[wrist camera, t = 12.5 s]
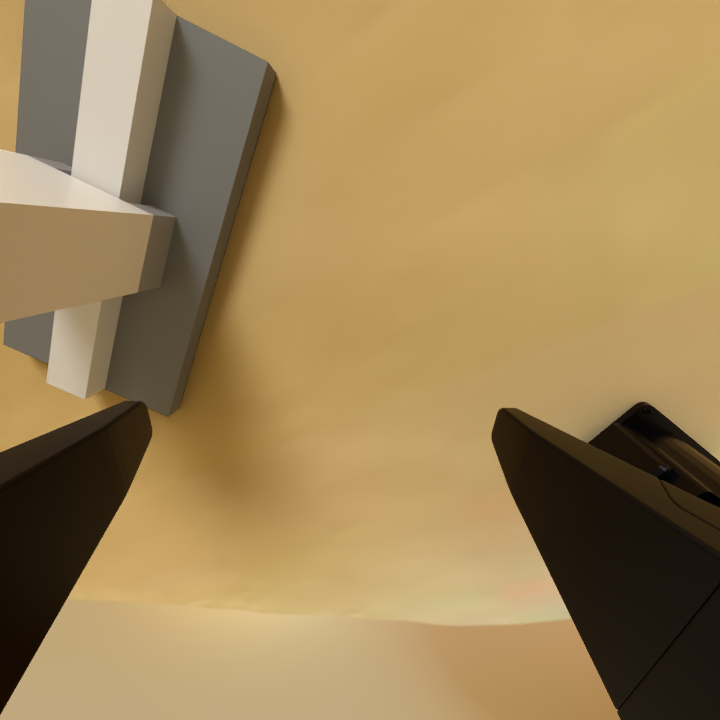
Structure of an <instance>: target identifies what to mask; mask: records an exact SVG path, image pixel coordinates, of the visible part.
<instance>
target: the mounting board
mask: <svg viewBox="0 0 720 720" xmlns="http://www.w3.org/2000/svg"><path fill="white" fill-rule="evenodd" d="M275 78H276V72H275V71H274V70H273V68H272V67H271V66H270V64H269V63H268V62H267V61H265V60H263V59H261V58H259V57H257V56H255V55H253V54H251V53H249V52H247V51H245V50H243V49H242V48H240V47H238V46H236V45H234V44H232V43H230V42H228V41H226V40H224V39H222V38H220V37H218V36H216V35H214V34H212V33H210V32H208V31H206V30H204V29H202V28H200V27H199V26H197V25H195V24H193V23H191V22H189V21H187V20H185V19H183V18H181V17H179V16H177V15H176V14H175V13H174V12H173V11H172V10H171V9H170V8H169V7H168V6H167V5H166V4H165V3H164V2H163V1H162V0H25V10H24V26H23V42H22V58H21V74H20V90H19V106H18V121H17V137H16V153H19V154H24V155H29V156H33V157H38V158H42V159H47V160H52V161H56V162H61V163H64V164H66V165H68V166H70V167H72V171H71V176H72V177H74V178H76V179H78V180H80V181H83V182H85V183H87V184H89V185H91V186H93V187H95V188H97V189H99V190H102V191H104V192H106V193H108V194H110V195H112V196H114V197H116V198H118V199H121V200H123V201H125V202H127V203H133V204H142V205H150V206H154V207H156V208H158V209H161V210H163V211H165V212H167V213H169V214H171V215H173V216H175V217H176V221H175V225H174V230H173V234H172V238H171V243H170V247H169V251H168V256H167V260H166V264H165V269H164V273H163V277H162V282H161V286H160V288H156V289H152V290H147V291H142V292H138V293H133V294H129V295H124V296H120V297H115V298H111V299H106V300H102V301H97V302H93V303H88V304H84V305H79V306H75V307H70V308H65V309H61V310H56V311H52V312H47V313H43V314H38V315H34V316H29V317H25V318H20V319H16V320H11V321H7V322H5V328H4V345H6V346H8V347H11V348H13V349H15V350H17V351H20V352H22V353H24V354H27V355H29V356H31V357H33V358H36V359H38V360H40V361H42V362H45V363H47V364H49V365H48V373H47V381H46V383H48V384H51V385H53V386H55V387H57V388H60V389H62V390H64V391H66V392H69V393H71V394H73V395H76V396H78V397H80V398H82V399H87V398H89V397H91V396H93V395H94V394H96V393H98V392H100V391H102V390H104V389H106V390H108V391H110V392H113V393H115V394H117V395H119V396H122V397H124V398H126V399H129V400H131V401H143V402H144V403H145V404H146V405H147V408H149V409H151V410H153V411H156V412H158V413H160V414H163V415H165V416H167V417H169V416H170V415H171V414H172V413H174V412H175V411H176V410H177V409H179V407H180V403H181V400H182V396H183V393H184V390H185V386H186V383H187V379H188V376H189V372H190V369H191V366H192V362H193V359H194V355H195V352H196V348H197V345H198V342H199V338H200V335H201V331H202V328H203V324H204V321H205V318H206V314H207V311H208V307H209V304H210V301H211V297H212V294H213V290H214V287H215V283H216V280H217V277H218V273H219V270H220V266H221V263H222V259H223V256H224V253H225V249H226V246H227V242H228V239H229V235H230V232H231V229H232V225H233V222H234V218H235V215H236V211H237V208H238V205H239V201H240V198H241V194H242V191H243V187H244V184H245V181H246V177H247V174H248V170H249V167H250V163H251V160H252V157H253V153H254V150H255V146H256V143H257V140H258V136H259V133H260V129H261V126H262V122H263V119H264V116H265V112H266V109H267V105H268V102H269V98H270V95H271V92H272V88H273V85H274V81H275Z"/></svg>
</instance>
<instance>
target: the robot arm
mask: <svg viewBox="0 0 720 720" xmlns="http://www.w3.org/2000/svg"><path fill="white" fill-rule="evenodd" d="M645 409H646V411H645V412H644V413H642V414H641V412H642V411H643V410H645ZM151 437H152V426H151V422H150V417H149V413H148V408H147V405H146V404H145V403H144V402H143V401H124V402H121V403H119V404H116V405H114V406H112V407H109V408H107V409H104V410H102V411H99V412H97V413H95V414H92V415H90V416H87V417H85V418H83V419H80V420H78V421H75V422H73V423H70V424H68V425H66V426H63V427H61V428H58V429H56V430H54V431H51V432H49V433H46V434H44V435H41V436H39V437H37V438H34V439H32V440H29V441H27V442H25V443H22V444H20V445H17V446H15V447H12V448H10V449H8V450H5V451H3V452H0V714H1V713H2V711H3V709H4V707H5V706H6V704H7V702H8V700H9V699H10V697H11V695H12V693H13V692H14V690H15V688H16V686H17V685H18V683H19V681H20V680H21V678H22V676H23V674H24V673H25V671H26V669H27V667H28V666H29V664H30V662H31V660H32V659H33V657H34V655H35V653H36V652H37V650H38V648H39V646H40V645H41V643H42V641H43V639H44V638H45V636H46V634H47V632H48V631H49V629H50V627H51V626H52V624H53V622H54V620H55V618H56V617H57V615H58V613H59V612H60V610H61V608H62V606H63V605H64V603H65V601H66V599H67V598H68V596H69V594H70V592H71V591H72V589H73V587H74V585H75V584H76V582H77V580H78V578H79V577H80V575H81V573H82V572H83V570H84V568H85V566H86V565H87V563H88V561H89V559H90V558H91V556H92V554H93V552H94V551H95V549H96V547H97V545H98V544H99V542H100V540H101V538H102V537H103V535H104V533H105V531H106V530H107V528H108V526H109V524H110V523H111V521H112V519H113V518H114V516H115V514H116V512H117V511H118V509H119V507H120V505H121V504H122V502H123V500H124V498H125V496H126V494H127V492H128V490H129V488H130V486H131V484H132V482H133V479H134V477H135V475H136V472H137V470H138V468H139V465H140V463H141V461H142V459H143V456H144V454H145V452H146V449H147V447H148V445H149V443H150V440H151ZM492 443H493V445H494V448H495V451H496V454H497V457H498V459H499V462H500V465H501V468H502V470H503V473H504V476H505V479H506V482H507V484H508V487H509V489H510V492H511V494H512V496H513V498H514V500H515V503H516V505H517V507H518V509H519V511H520V513H521V515H522V517H523V519H524V521H525V523H526V525H527V527H528V529H529V531H530V533H531V535H532V538H533V540H534V542H535V544H536V546H537V548H538V550H539V552H540V554H541V556H542V558H543V560H544V562H545V564H546V566H547V568H548V570H549V572H550V575H551V577H552V579H553V581H554V583H555V585H556V587H557V589H558V591H559V593H560V595H561V597H562V599H563V601H564V603H565V605H566V607H567V609H568V612H569V614H570V616H571V618H572V620H573V622H574V624H575V626H576V628H577V630H578V632H579V634H580V636H581V638H582V640H583V642H584V644H585V646H586V649H587V651H588V653H589V655H590V657H591V659H592V661H593V663H594V665H595V667H596V669H597V671H598V673H599V675H600V677H601V679H602V681H603V683H604V685H605V688H606V690H607V692H608V693H609V696H610V698H611V700H612V702H613V704H614V706H615V708H616V709H618V711H617V712H618V715H619V717H620V719H621V720H720V462H719V461H718V460H717V459H716V458H715V457H714V456H712V455H711V454H710V453H709V452H708V451H706V450H705V449H704V448H703V447H701V446H700V445H699V444H698V443H697V442H695V441H694V440H693V439H692V438H691V437H689V436H688V435H687V434H686V433H685V432H683V431H682V430H681V429H680V428H678V427H677V426H676V425H675V424H674V423H672V422H671V421H670V420H669V419H668V418H666V417H665V416H664V415H663V414H662V413H660V412H659V411H658V410H657V409H655V408H654V407H653V406H651V405H650V404H648V403H646V402H640V403H637V404H636V405H634V406H633V407H632V408H631V409H629V410H628V411H627V412H626V413H624V414H623V415H622V416H621V417H620V418H618V419H617V420H616V421H615V422H613V423H612V424H611V425H610V426H608V427H607V428H606V429H605V430H603V431H602V432H601V433H600V434H599V435H597V436H596V437H595V438H594V439H592V440H591V441H590V442H589V443H585V442H583V441H581V440H579V439H577V438H575V437H573V436H571V435H569V434H567V433H565V432H563V431H561V430H559V429H557V428H555V427H553V426H551V425H549V424H547V423H545V422H543V421H541V420H539V419H537V418H535V417H533V416H531V415H529V414H527V413H525V412H523V411H521V410H519V409H516V408H501V409H500V410H499V411H498V413H497V416H496V420H495V423H494V427H493V430H492Z"/></svg>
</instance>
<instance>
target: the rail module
mask: <svg viewBox="0 0 720 720" xmlns="http://www.w3.org/2000/svg"><path fill="white" fill-rule="evenodd" d="M71 171H72V167H70V166H68V165H66V164H64V163H61V162H56V161H52V160H47V159H42V158H38V157H33V156H29V155H24V154H19V153H15V152H10V151H6V150H1V149H0V323H2V322H7V321H11V320H16V319H20V318H25V317H29V316H34V315H38V314H43V313H47V312H52V311H56V310H61V309H65V308H70V307H75V306H79V305H84V304H88V303H93V302H97V301H102V300H106V299H111V298H115V297H120V296H124V295H129V294H133V293H138V292H142V291H147V290H152V289H156V288H160V286H161V282H162V277H163V273H164V269H165V264H166V260H167V256H168V251H169V247H170V243H171V238H172V234H173V230H174V225H175V221H176V217H175V216H173V215H171V214H169V213H167V212H165V211H163V210H161V209H158V208H156V207H154V206H150V205H142V204H133V203H127V202H125V201H123V200H121V199H118V198H116V197H114V196H112V195H110V194H108V193H106V192H104V191H102V190H99V189H97V188H95V187H93V186H91V185H89V184H87V183H85V182H83V181H80V180H78V179H76V178H74V177H72V176H71Z"/></svg>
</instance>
